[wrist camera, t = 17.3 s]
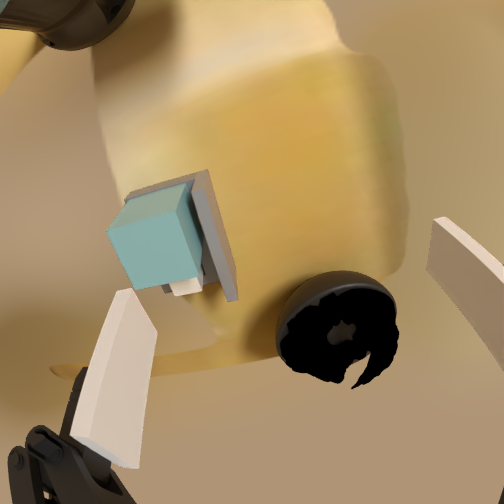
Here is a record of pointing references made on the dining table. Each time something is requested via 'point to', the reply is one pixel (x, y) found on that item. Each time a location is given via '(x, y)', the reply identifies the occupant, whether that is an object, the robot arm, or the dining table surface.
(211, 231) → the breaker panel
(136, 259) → the cover
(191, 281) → the plain button
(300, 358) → the bowl of black rocks
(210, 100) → the dining table surface
